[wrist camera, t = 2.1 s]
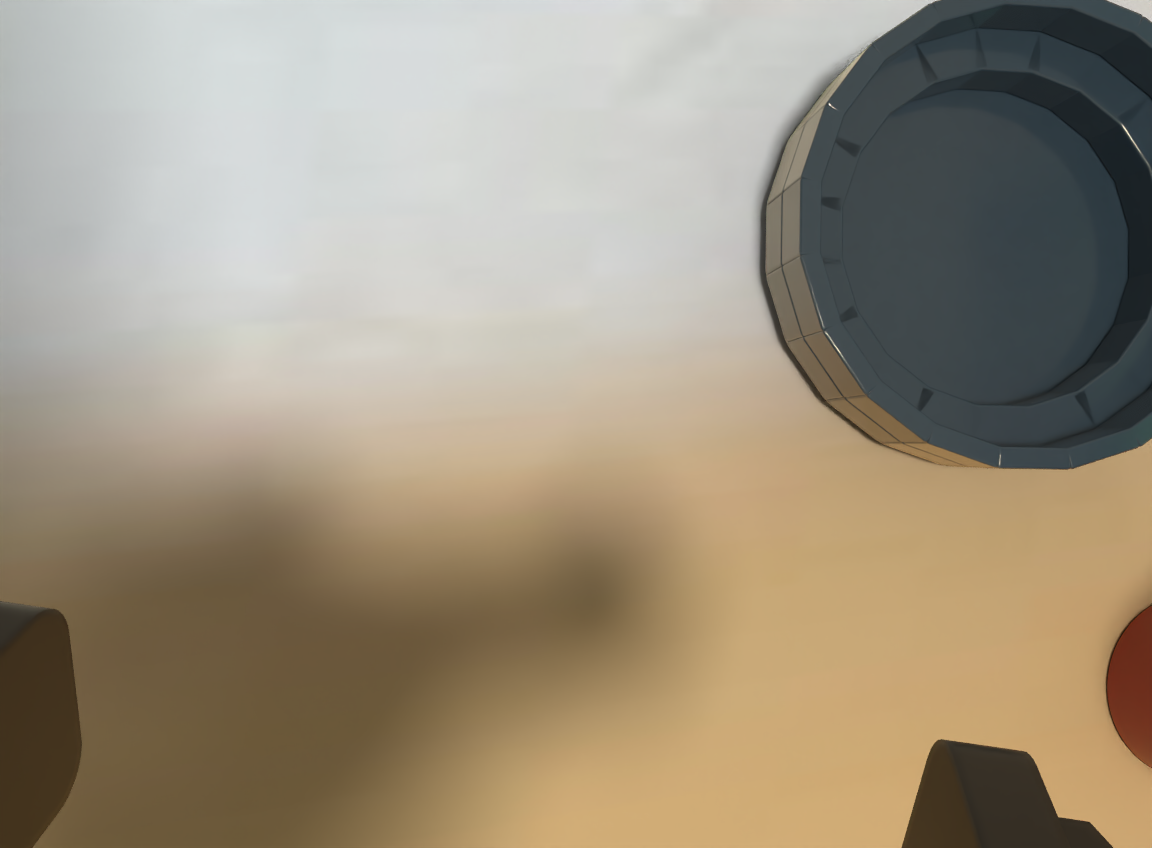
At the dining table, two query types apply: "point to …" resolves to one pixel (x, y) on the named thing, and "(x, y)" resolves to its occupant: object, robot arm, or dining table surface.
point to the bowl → (978, 235)
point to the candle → (1133, 686)
